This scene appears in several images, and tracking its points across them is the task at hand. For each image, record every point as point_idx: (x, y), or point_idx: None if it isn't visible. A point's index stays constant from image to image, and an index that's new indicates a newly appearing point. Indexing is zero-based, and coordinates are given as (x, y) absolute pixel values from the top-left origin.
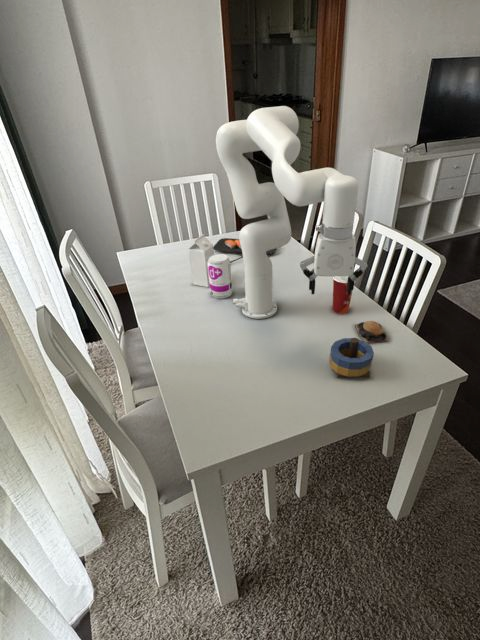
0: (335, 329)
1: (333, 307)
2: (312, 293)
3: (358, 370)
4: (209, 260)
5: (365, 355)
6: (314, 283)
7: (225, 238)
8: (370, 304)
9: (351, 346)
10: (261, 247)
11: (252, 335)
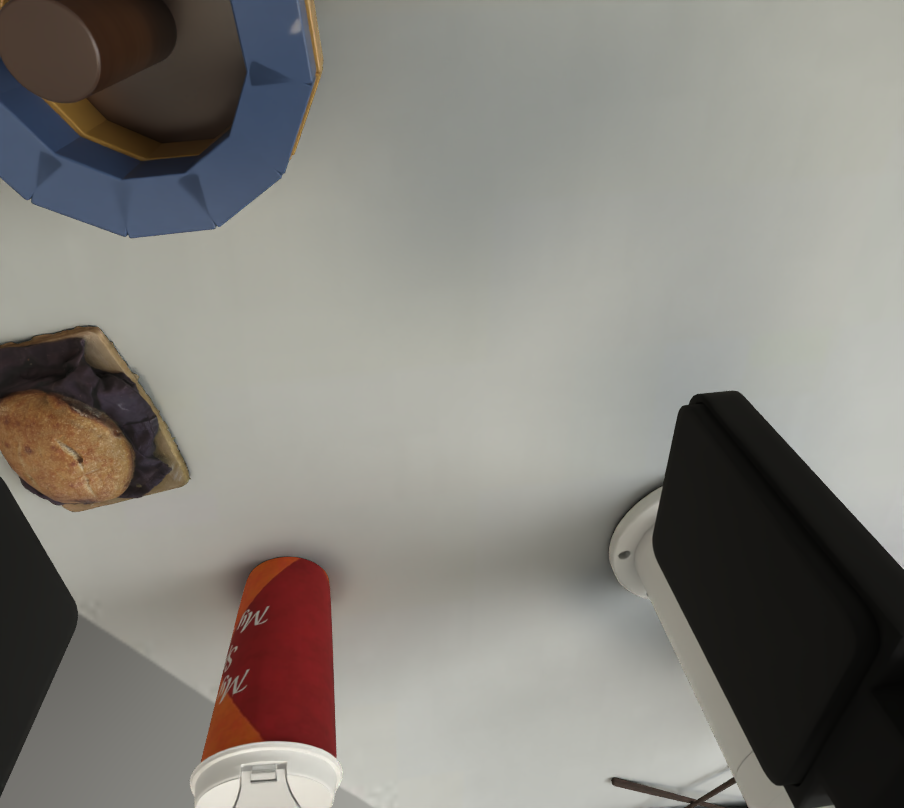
0: (304, 436)
1: (326, 588)
2: (734, 395)
3: None
4: None
5: None
6: (860, 579)
7: None
8: (138, 639)
9: (94, 6)
10: None
11: (771, 337)
